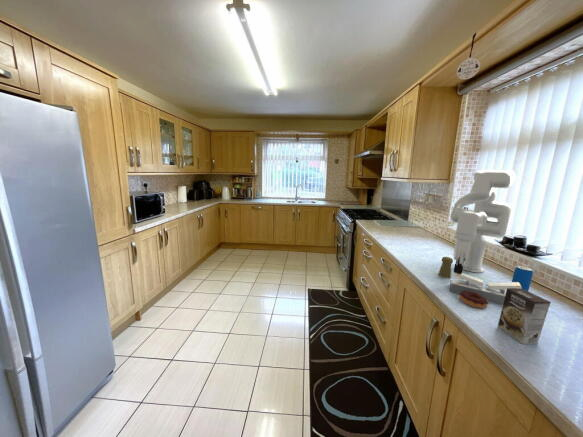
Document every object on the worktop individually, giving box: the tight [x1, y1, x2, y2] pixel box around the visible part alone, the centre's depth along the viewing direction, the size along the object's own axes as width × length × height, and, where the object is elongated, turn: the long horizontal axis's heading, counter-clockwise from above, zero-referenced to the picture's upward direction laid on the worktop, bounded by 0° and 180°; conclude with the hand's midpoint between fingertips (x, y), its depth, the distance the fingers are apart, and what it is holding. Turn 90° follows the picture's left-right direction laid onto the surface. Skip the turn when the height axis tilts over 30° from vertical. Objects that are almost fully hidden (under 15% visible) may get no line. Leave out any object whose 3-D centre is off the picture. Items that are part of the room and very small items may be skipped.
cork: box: [438, 256, 454, 279], centre depth 128 cm, size 6×6×11 cm
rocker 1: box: [453, 272, 484, 286], centre depth 110 cm, size 4×11×2 cm, turn 57°
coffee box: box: [497, 288, 551, 345], centre depth 80 cm, size 9×6×16 cm
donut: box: [459, 291, 489, 309], centre depth 101 cm, size 10×10×4 cm
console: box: [449, 277, 507, 306], centre depth 107 cm, size 8×27×6 cm, turn 57°
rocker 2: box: [486, 281, 522, 290], centre depth 104 cm, size 4×11×2 cm, turn 57°
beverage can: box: [511, 265, 534, 292], centre depth 114 cm, size 6×6×12 cm
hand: (457, 272), depth 112 cm, fingers closed
